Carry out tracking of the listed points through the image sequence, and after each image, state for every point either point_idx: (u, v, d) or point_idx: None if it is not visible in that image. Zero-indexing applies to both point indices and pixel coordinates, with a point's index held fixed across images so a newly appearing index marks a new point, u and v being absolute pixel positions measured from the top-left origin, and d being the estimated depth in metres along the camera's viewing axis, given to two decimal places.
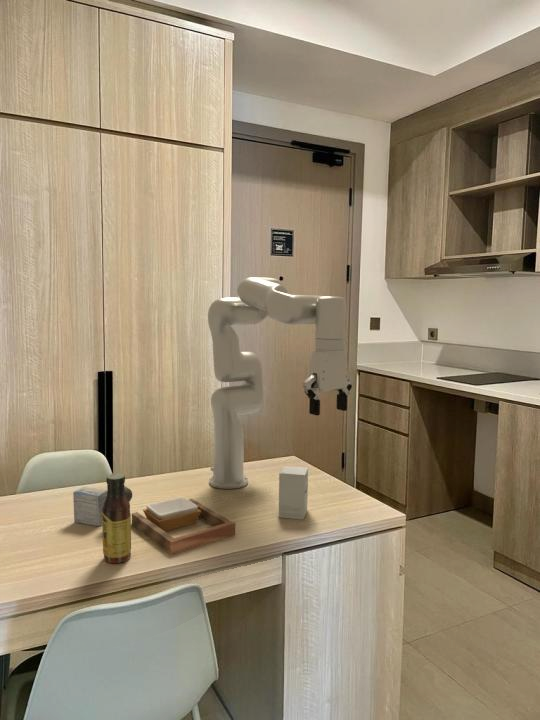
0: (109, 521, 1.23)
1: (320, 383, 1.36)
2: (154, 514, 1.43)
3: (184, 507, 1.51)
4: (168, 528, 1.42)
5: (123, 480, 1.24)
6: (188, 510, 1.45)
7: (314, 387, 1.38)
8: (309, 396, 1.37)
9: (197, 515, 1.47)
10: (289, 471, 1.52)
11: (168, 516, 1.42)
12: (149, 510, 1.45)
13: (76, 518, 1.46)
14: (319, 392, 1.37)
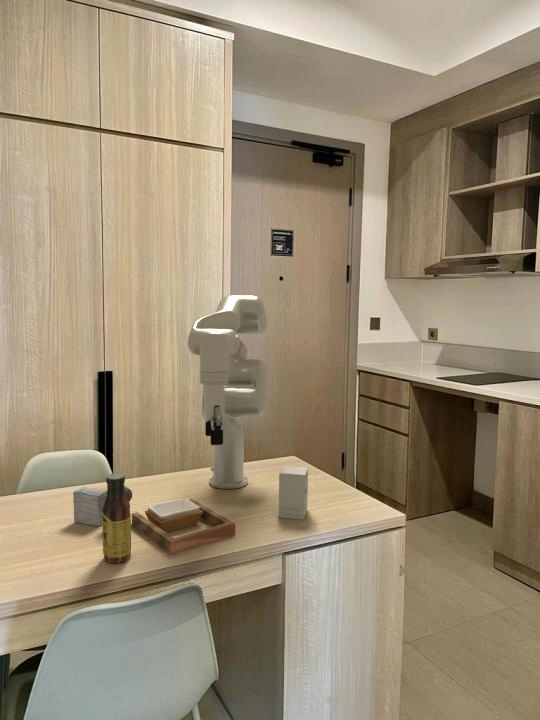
0: (109, 521, 1.23)
1: (223, 413, 1.44)
2: (155, 515, 1.43)
3: (186, 508, 1.50)
4: (169, 529, 1.42)
5: (123, 480, 1.24)
6: (190, 511, 1.45)
7: (214, 419, 1.44)
8: (217, 428, 1.42)
9: (199, 516, 1.46)
10: (289, 471, 1.52)
11: (169, 517, 1.41)
12: (150, 511, 1.45)
13: (76, 518, 1.46)
14: (221, 422, 1.45)
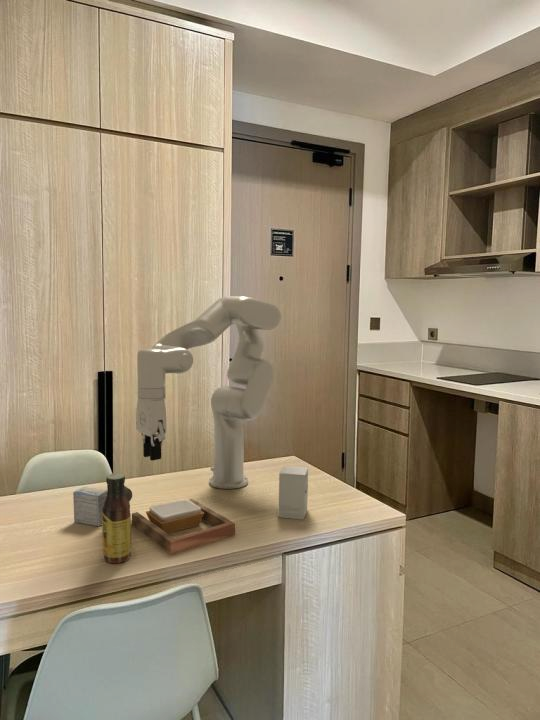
0: (109, 521, 1.23)
1: None
2: (157, 516, 1.42)
3: (187, 509, 1.49)
4: (171, 530, 1.41)
5: (123, 480, 1.24)
6: (191, 512, 1.44)
7: (155, 436, 1.51)
8: (157, 444, 1.51)
9: (200, 517, 1.45)
10: (289, 471, 1.52)
11: (171, 518, 1.41)
12: (152, 512, 1.44)
13: (76, 518, 1.46)
14: None
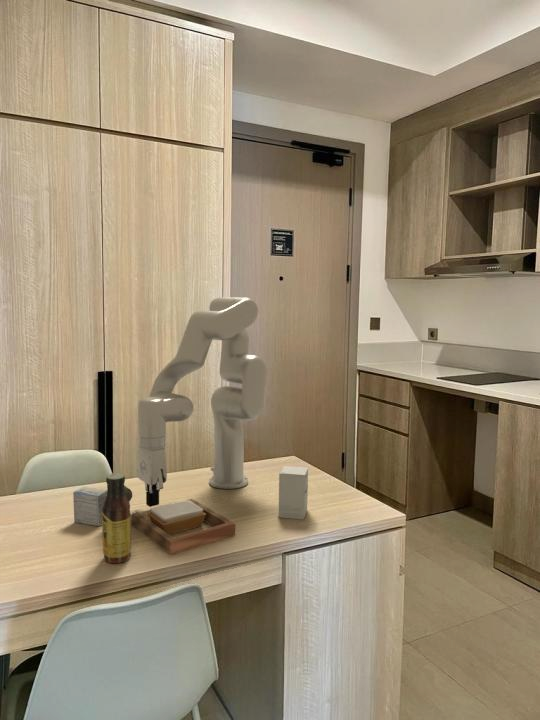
0: (109, 521, 1.23)
1: (166, 475, 1.52)
2: (158, 517, 1.41)
3: (189, 510, 1.49)
4: (172, 531, 1.40)
5: (123, 480, 1.24)
6: (193, 513, 1.43)
7: (154, 484, 1.53)
8: (155, 491, 1.54)
9: (202, 518, 1.45)
10: (289, 471, 1.52)
11: (172, 519, 1.40)
12: (153, 513, 1.43)
13: (76, 518, 1.46)
14: None
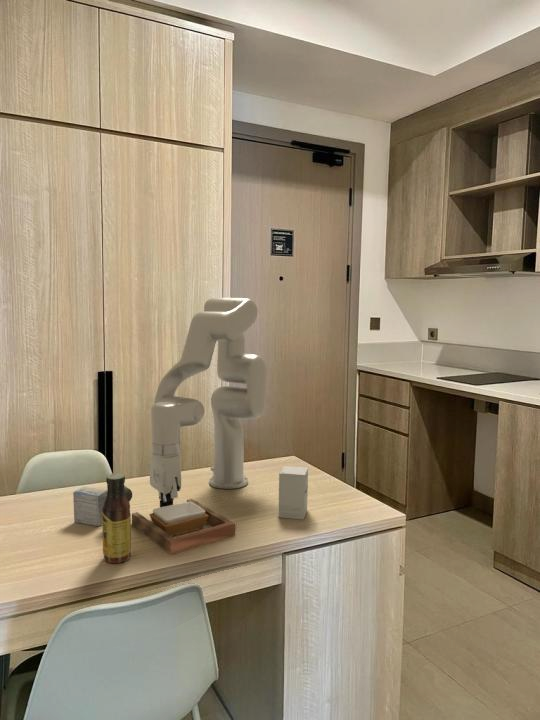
0: (109, 521, 1.23)
1: None
2: (161, 519, 1.40)
3: (191, 511, 1.48)
4: (175, 533, 1.39)
5: (123, 480, 1.24)
6: (195, 515, 1.42)
7: (168, 492, 1.47)
8: (169, 499, 1.47)
9: (205, 520, 1.44)
10: (289, 471, 1.52)
11: (175, 521, 1.39)
12: (155, 514, 1.42)
13: (76, 518, 1.46)
14: None
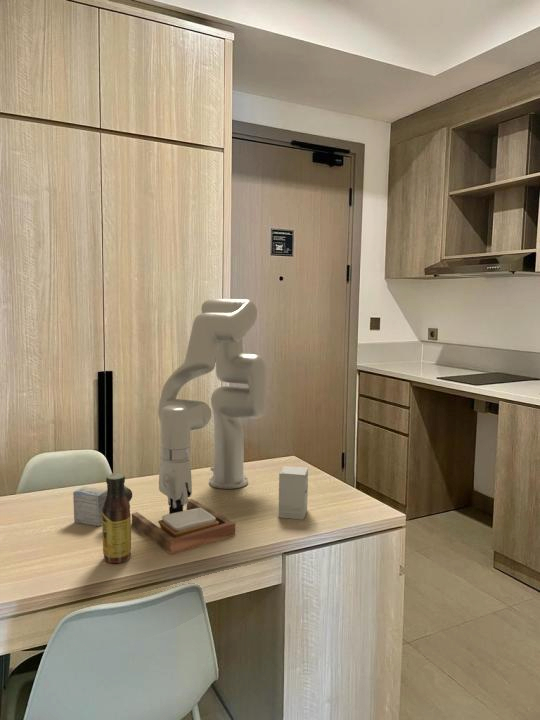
0: (109, 521, 1.23)
1: (191, 489, 1.42)
2: (170, 526, 1.36)
3: (201, 518, 1.43)
4: None
5: (123, 480, 1.24)
6: (205, 522, 1.38)
7: (178, 498, 1.43)
8: (179, 505, 1.43)
9: None
10: (289, 471, 1.52)
11: (184, 528, 1.35)
12: (164, 521, 1.38)
13: (76, 518, 1.46)
14: None
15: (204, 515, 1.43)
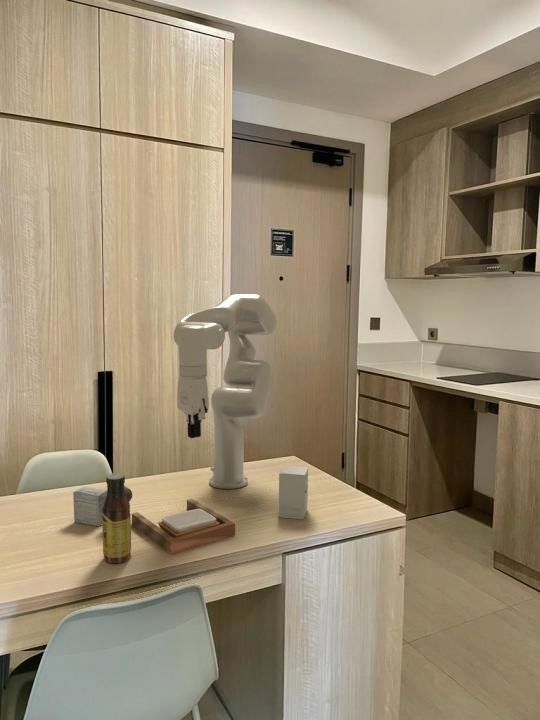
0: (109, 521, 1.23)
1: (208, 405, 1.48)
2: (170, 527, 1.35)
3: (201, 519, 1.43)
4: None
5: (123, 480, 1.24)
6: (206, 523, 1.37)
7: (195, 414, 1.49)
8: (197, 421, 1.49)
9: None
10: (289, 471, 1.52)
11: (186, 529, 1.34)
12: (165, 523, 1.37)
13: (76, 518, 1.46)
14: None
15: (204, 516, 1.42)
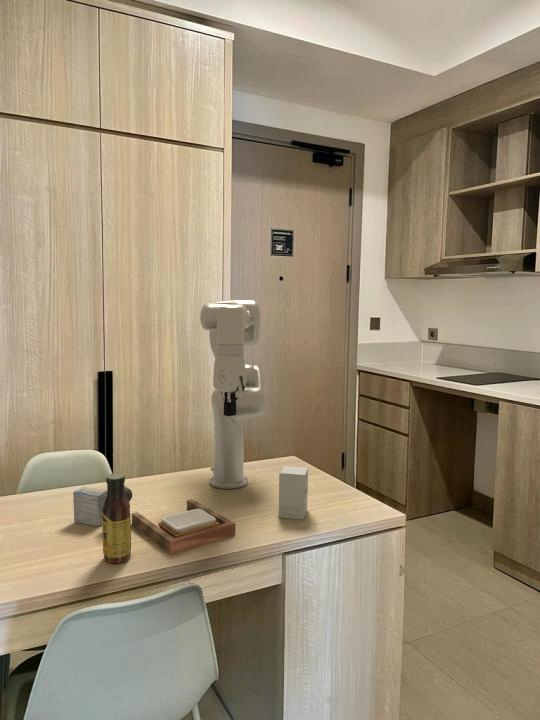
0: (109, 521, 1.23)
1: (245, 383, 1.51)
2: (170, 527, 1.35)
3: (200, 519, 1.43)
4: None
5: (123, 480, 1.24)
6: (206, 523, 1.37)
7: (232, 392, 1.52)
8: (233, 400, 1.53)
9: None
10: (289, 471, 1.52)
11: (185, 530, 1.34)
12: (164, 523, 1.37)
13: (76, 518, 1.46)
14: None
15: (203, 516, 1.42)
